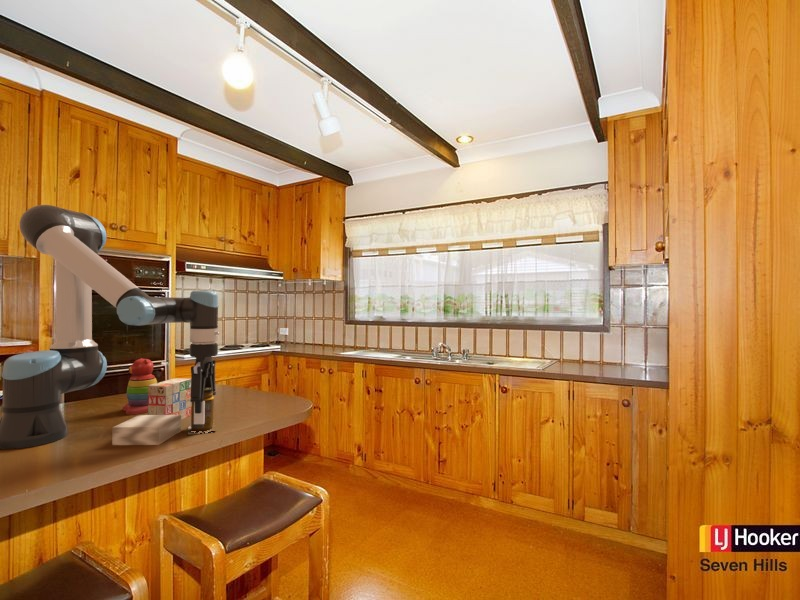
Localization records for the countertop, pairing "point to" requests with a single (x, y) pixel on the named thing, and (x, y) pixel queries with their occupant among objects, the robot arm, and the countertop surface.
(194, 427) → the condiment
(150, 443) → the birch block
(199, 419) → the robot arm
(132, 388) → the stacking bear
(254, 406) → the countertop surface
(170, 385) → the stack of blocks
